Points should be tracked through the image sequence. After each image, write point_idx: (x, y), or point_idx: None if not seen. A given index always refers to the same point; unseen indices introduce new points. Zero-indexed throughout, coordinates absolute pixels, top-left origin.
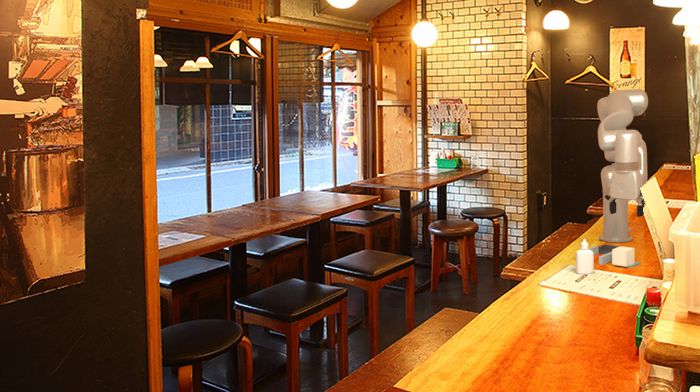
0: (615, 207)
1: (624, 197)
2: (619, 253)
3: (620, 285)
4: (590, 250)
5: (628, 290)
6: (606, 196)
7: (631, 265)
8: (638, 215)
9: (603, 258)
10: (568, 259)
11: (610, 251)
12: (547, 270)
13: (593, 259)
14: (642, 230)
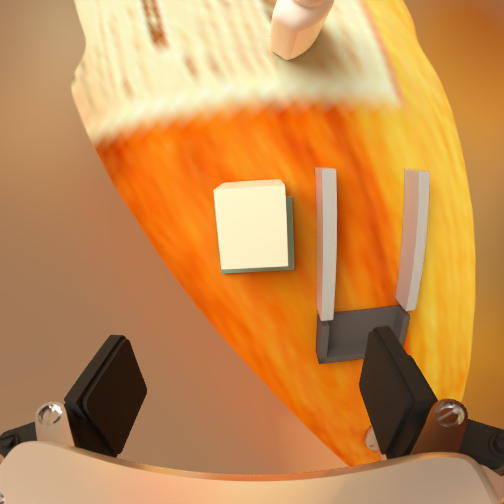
0: (374, 410)
1: (165, 497)
2: (247, 185)
3: (134, 15)
4: (284, 7)
5: (102, 6)
6: (502, 446)
7: None
8: (110, 339)
9: (320, 178)
10: (436, 168)
11: (370, 331)
12: (395, 11)
13: (271, 30)
14: None
